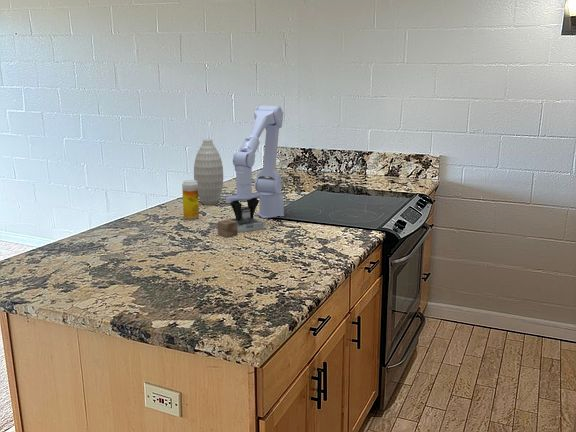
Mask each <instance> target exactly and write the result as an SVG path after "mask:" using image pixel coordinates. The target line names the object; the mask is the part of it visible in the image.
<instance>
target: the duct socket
mask: <svg viewBox="0 0 576 432" xmlns="http://www.w3.org/2000/svg"><path fill="white" fill-rule="evenodd" d="M228 219H229V220H233V221H236V222H237V231H238V233H245V232H253V231H261V230H264V221H261V219H258V218H257V217H255V215H254V216H253V219H251V224H243V225H239V224H238V220H236V217H234V218H233V217H231V218H226V219H225V220H228Z"/></svg>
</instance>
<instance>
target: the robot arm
mask: <svg viewBox="0 0 576 432" xmlns="http://www.w3.org/2000/svg"><path fill="white" fill-rule="evenodd" d="M253 115H254V122H253V125H252V128H251V130H250V134H248V135H246V136H245V138H244V140H243V141H242V144H241V147H240V148H239V150H238V151H236V152H235V153H234V154H233V159H232V165H233V166H234V171H235V173H236V176H235V177H236V178H235V182H236V184H235V185H236V194H233V195H229V196H226V197H225V202H226V203H228V204H229V205H230V206H231V208H232V210H233V213H234V218H236V220H238V221H240V219H241V207H243V206H242V204H243V203H240V202H242V201H246V202H247V207H250V208H251V219H253V216H254V217H255V214H256V215H257V216H259V217H260V218H262V219H270V218H278V217H277V216H280V217H285V214H284V213H285V211H284V207H285V204H284V203H285V201H284V196H283V193H281V191H282V190H283V182H282V175H281V174H280V173H279V172H278V171H277V170H276V166H277V155H278V145H279V143H278V142H279V133H280V129H282V127H283V119H284V112H283V109H282V107H281V106H280V105H276V106H275V105H262V104H261V105H260V104H258V105H257V106H256V107H255V108H254V114H253ZM264 130H265V141H264V151H263V152H264V153H263V165H262V169H261V171H259V172H258V173H257V175H256V178H255V182H254V189H255V191H256V192H253V184H252V183H253V181H252V178H253V176H252V172H253V171H252V169H253V166H254V165H255V161H256V160H255V159H256V152H257V150H258V148H259V145H260V143H261V142H260V140H259V139H260V137H261V135H262V133H263V132H264ZM258 205H259V212H255V211H256V209H257V207H258Z"/></svg>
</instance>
